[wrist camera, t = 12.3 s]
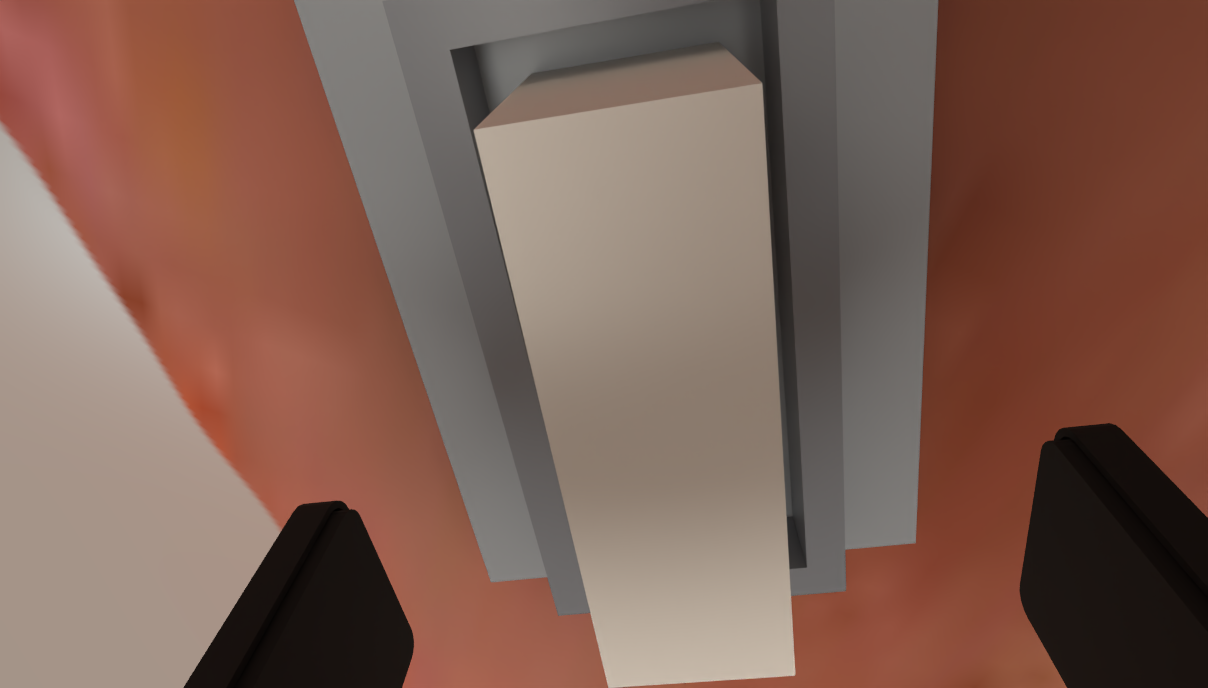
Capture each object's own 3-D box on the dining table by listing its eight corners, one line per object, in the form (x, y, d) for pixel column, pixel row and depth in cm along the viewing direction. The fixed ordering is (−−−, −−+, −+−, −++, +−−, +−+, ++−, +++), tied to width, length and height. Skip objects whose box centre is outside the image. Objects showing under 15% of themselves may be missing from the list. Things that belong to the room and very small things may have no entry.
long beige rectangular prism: (718, 41, 15) (762, 82, 9) (754, 490, 20) (795, 675, 15) (531, 73, 15) (473, 129, 10) (616, 503, 21) (608, 687, 15)
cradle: (925, -133, 14) (991, -156, 11) (904, 519, 22) (941, 596, 19) (311, -9, 16) (244, -4, 13) (496, 559, 23) (478, 634, 21)
